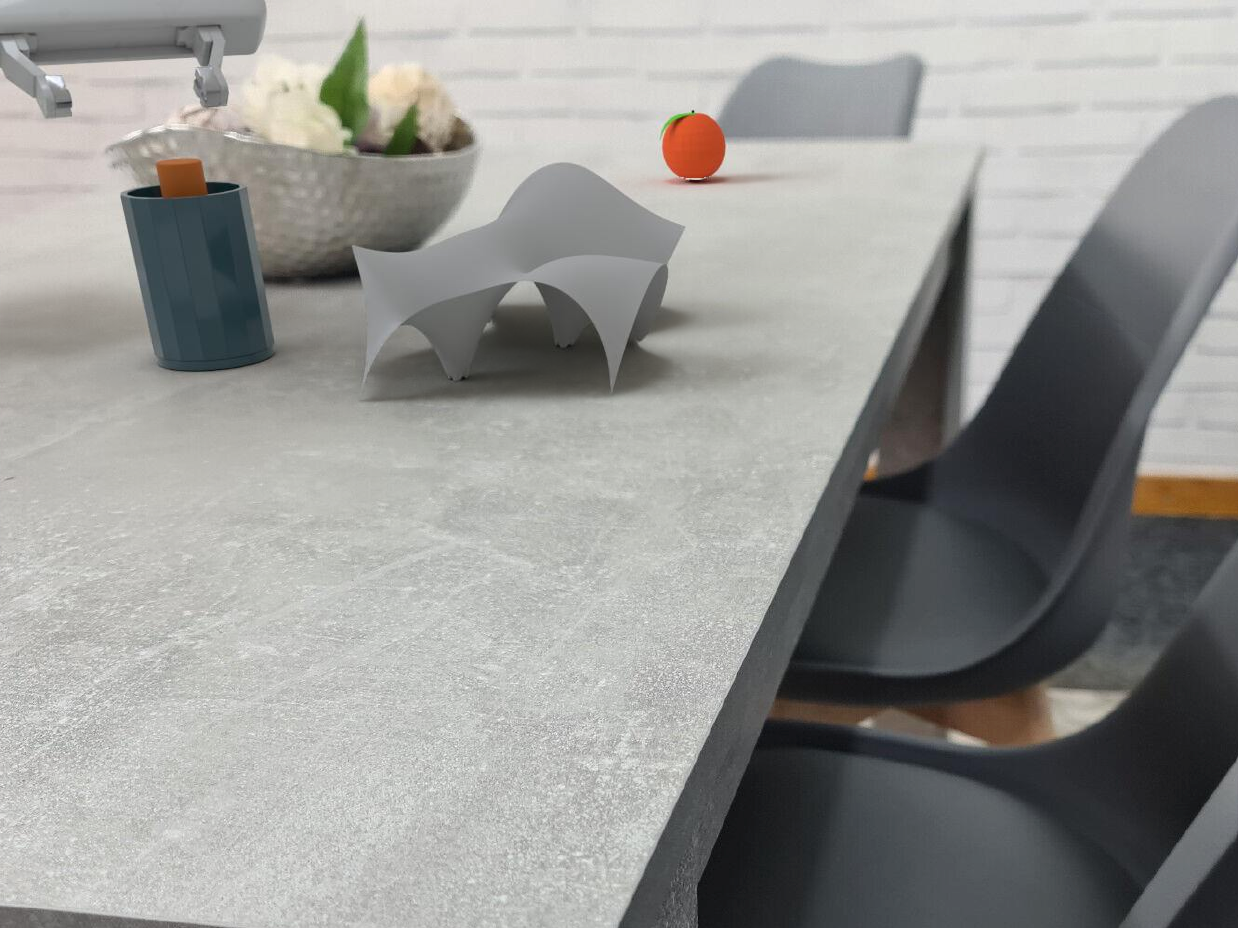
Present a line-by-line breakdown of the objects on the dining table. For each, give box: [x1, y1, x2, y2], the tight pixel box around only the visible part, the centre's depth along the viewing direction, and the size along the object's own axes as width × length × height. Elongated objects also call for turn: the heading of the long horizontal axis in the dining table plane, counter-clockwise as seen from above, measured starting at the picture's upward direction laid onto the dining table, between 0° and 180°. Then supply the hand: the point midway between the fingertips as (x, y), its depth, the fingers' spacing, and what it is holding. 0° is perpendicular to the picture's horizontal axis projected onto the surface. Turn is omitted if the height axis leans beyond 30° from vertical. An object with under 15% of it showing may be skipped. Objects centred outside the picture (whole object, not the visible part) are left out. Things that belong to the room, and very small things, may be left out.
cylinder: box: [155, 157, 208, 198], centre depth 88 cm, size 3×3×11 cm
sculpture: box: [351, 161, 686, 399], centre depth 90 cm, size 25×19×10 cm
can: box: [119, 180, 276, 372], centre depth 89 cm, size 7×7×10 cm
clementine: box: [659, 109, 727, 178], centre depth 155 cm, size 8×7×7 cm
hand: (140, 105), depth 88 cm, fingers open, 8 cm apart
